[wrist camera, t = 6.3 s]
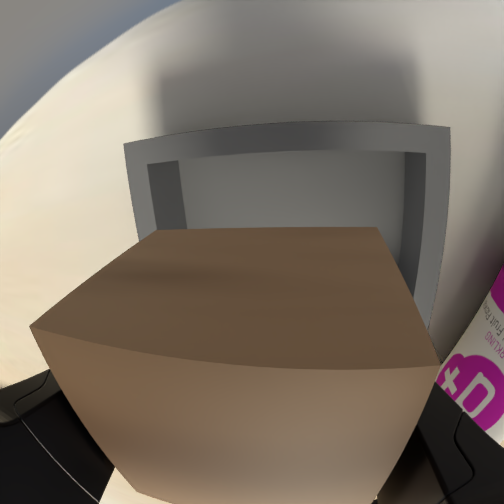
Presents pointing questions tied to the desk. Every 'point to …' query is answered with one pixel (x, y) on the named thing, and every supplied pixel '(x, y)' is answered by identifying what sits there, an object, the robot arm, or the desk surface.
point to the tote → (304, 185)
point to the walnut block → (246, 364)
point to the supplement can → (480, 365)
